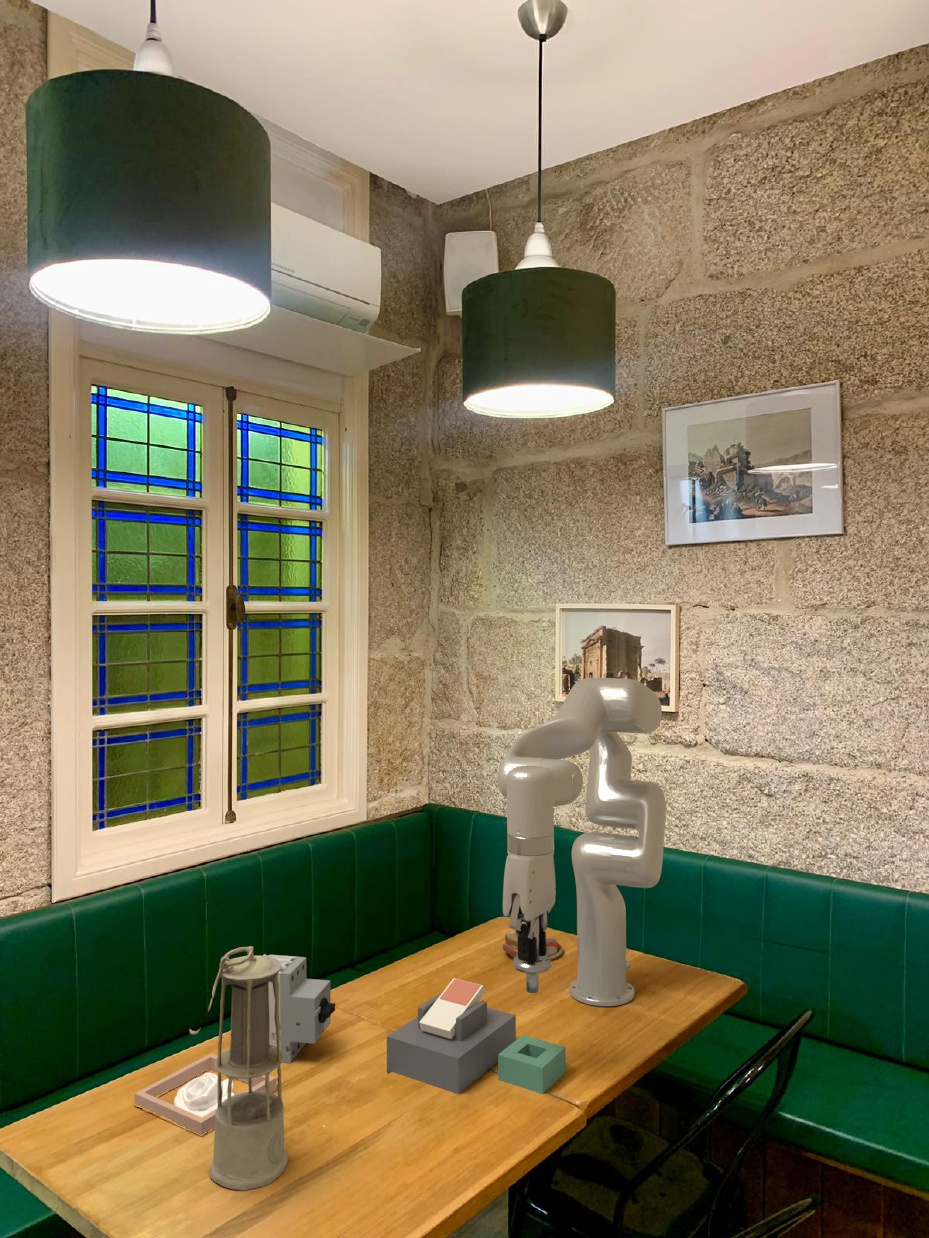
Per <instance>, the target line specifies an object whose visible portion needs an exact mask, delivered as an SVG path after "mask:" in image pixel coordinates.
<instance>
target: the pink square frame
mask: <svg viewBox="0 0 929 1238" xmlns="http://www.w3.org/2000/svg"><path fill="white" fill-rule="evenodd" d="M217 1056H218V1054H214V1053H212V1052H210V1053H209V1054H207V1055H204V1056H202V1058H201V1057H200V1058H199V1059H198V1060H194V1061H193V1062H191V1063H189V1064H188V1065H186V1066H184V1067H181V1068H180V1069H179V1070H175V1071H174V1072H173V1073H170V1074H169V1075H166V1076H165V1077H163V1078H161V1079H159V1080H158V1081H156V1082H154V1083H151V1084H150V1085H148V1086H146V1087H144V1088H142V1089H140V1090H138V1091H136V1092H134V1105H135V1104H136V1105H139V1106H141V1107H143V1108H145V1109H149V1110H150V1111H152V1112H155V1113H156V1114H159V1115H162V1116H164V1117H165V1118H167V1119H170V1120H171V1121H173V1122H176V1123H177V1124H178V1125H180V1126H183V1127H185V1128H186V1129H189V1130H191V1131H193V1132H196V1133H198V1134H200V1135H202V1134H204V1133H205V1132H208V1131H210V1130H211V1129H213V1130H215V1129H214V1128H215V1112H216V1109H215V1110H214V1111H212V1112H210V1113H209V1114H207V1115H205V1116H204V1117H200V1116H197V1115H195V1114H193V1113H191V1112H188V1111H186V1110H184V1109H181V1108H179V1107H177V1106H174V1104H172V1103H169V1102H168V1101H165V1100H163V1099H160V1098H156V1096H157V1095H161V1094H162V1093H164V1092H166V1091H169V1090H171V1089H172V1088H175V1089H177V1088H179V1087H180V1086H179V1085H181V1086H183V1085H185V1084H186V1083H187V1082H186V1081H188V1082H190V1081H192V1080H193V1079H192V1078H194V1079H195V1077H196V1076H197V1077H199V1076H200V1075H199V1074H201V1075H203V1074H204V1073H203V1072H205V1071H207V1072H209V1071H210V1070H212V1071H215V1072H217V1070H216V1068H215V1065H214V1063H215V1060H216V1058H217ZM202 1073H203V1074H202ZM205 1073H206V1072H205ZM198 1075H199V1076H198ZM197 1077H196V1078H197ZM265 1077H266V1076H265V1075H263V1076H259V1077H255V1078H252V1091H261V1092H266V1088H265ZM191 1079H192V1080H191ZM189 1080H190V1081H189ZM237 1081H241V1082H242V1081H244V1082H243V1083H245V1082H246V1083H245V1084H247V1085H248V1079H238V1080H237ZM185 1082H186V1083H185ZM184 1083H185V1084H184ZM182 1084H183V1085H182ZM178 1086H179V1087H178ZM176 1087H177V1088H176ZM276 1091H277V1077H276V1076H274V1075H271V1074H269V1093H271V1094H273V1093H274V1092H276ZM245 1092H249V1089H247V1090H245ZM211 1131H212V1130H211ZM211 1131H210V1132H211ZM208 1133H209V1132H208Z"/></svg>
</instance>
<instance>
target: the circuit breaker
mask: <svg viewBox="0 0 929 1238" xmlns="http://www.w3.org/2000/svg"><path fill="white" fill-rule="evenodd" d="M262 956H268V957H272V958H275V959H277V960H279V961H280V962H281V965H282V968H281V970H280V971H279V975H278V982H279V1022H280V1027H281V1028H280V1050H282V1052H283V1054H284V1059H283V1062H282V1063H281V1064H289V1065H290V1064H291V1063H292V1062H293V1061H294V1059H295V1058H296V1057H297V1055H298V1053H300V1051H301V1050H302V1049H303V1048H304V1046H305V1045H306V1044H315V1043H316V1042H317V1041H318V1040H319V1039H320V1037H322V1035H323V1033H324V1032H325V1031H326V1029H327V1028H328V1027H329V1025H330V1024H331V1020H332V1019H331V1016H332V1014H333V1013H334V1012H336V1003H335V1002H334V1003H333V1002H331V980H328V979H326V980H325V979H316V978H315V979H313V978H307V957H304V956H294V955H293V956H292V955H291V956H290V955H281V954H280V955H279V954H278V955H277V954H269V955H267V954H266V953H264V954H263V955H262ZM268 986H269V1024H270V1032H269V1043H270V1045H272V1046H275V1047H277V1033H276V1026H275V1019H274V1015H275V997H274V990H273V983H272V982H270V981H269V984H268ZM272 1048H274V1047H272Z"/></svg>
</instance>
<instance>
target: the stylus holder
mask: <svg viewBox="0 0 929 1238" xmlns="http://www.w3.org/2000/svg"><path fill="white" fill-rule="evenodd" d="M566 1052H567V1051H566V1046H563V1045H560V1044H557V1043H552V1042H549V1041H546V1040H542V1039H538V1038H534V1037H531V1036H527V1035H524V1034H522V1035H521V1036H520V1037H518V1038H516V1041H514V1042H513V1043H512V1044H511V1045H509V1046H508V1047H507V1048H506V1049H504V1050H503V1051H502V1052H501V1053H499V1054H498V1062H497V1067H498V1068H497V1072H498V1073H497V1077H498V1079H497V1080H498V1081H500V1082H503V1083H507V1084H510V1085H513V1086H516V1087H519V1088H522V1089H524V1090H528V1091H531V1092H535V1093H538V1094H541V1095H544V1094H545V1093H546V1091H548V1090H549V1089H550V1088H551V1087H552V1086H553V1085H554V1084H555V1083H556V1082H557V1081H558V1080H559V1079H561V1077H562V1076H564V1074H565V1073H566V1071H567V1070H566V1068H567V1063H566V1062H567V1057H566V1054H567V1053H566Z"/></svg>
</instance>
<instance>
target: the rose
mask: <svg viewBox="0 0 929 1238" xmlns="http://www.w3.org/2000/svg"><path fill="white" fill-rule="evenodd" d="M217 1079H218V1075H217V1073H215V1072H214V1073H213V1072H205V1073H203V1074H201V1075H200V1076H197V1077H196V1078H194V1079H192V1080H190V1081H188V1082H186V1083H185V1084H184V1085H182V1086H180V1087H179V1089H178V1090H177V1092H176V1096H175V1097H174V1098H173V1105H174V1106H177V1107H179V1108H181V1109H184V1110H186V1111H188V1112H191V1113H193V1114H195V1115H197V1116H200V1117H204V1116H205V1115H207V1114H209V1113H210V1112H212V1111H214V1110H215V1109H217V1107H218V1083H217ZM228 1080H229V1079H228V1078H225V1079H224V1080H221V1088H222V1102H223V1101H224V1100H226V1099H227V1095H228V1094H227V1088H228ZM234 1088H235V1083H234V1080H232V1088H231V1096H234V1095H236V1094H235V1093H234Z"/></svg>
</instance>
